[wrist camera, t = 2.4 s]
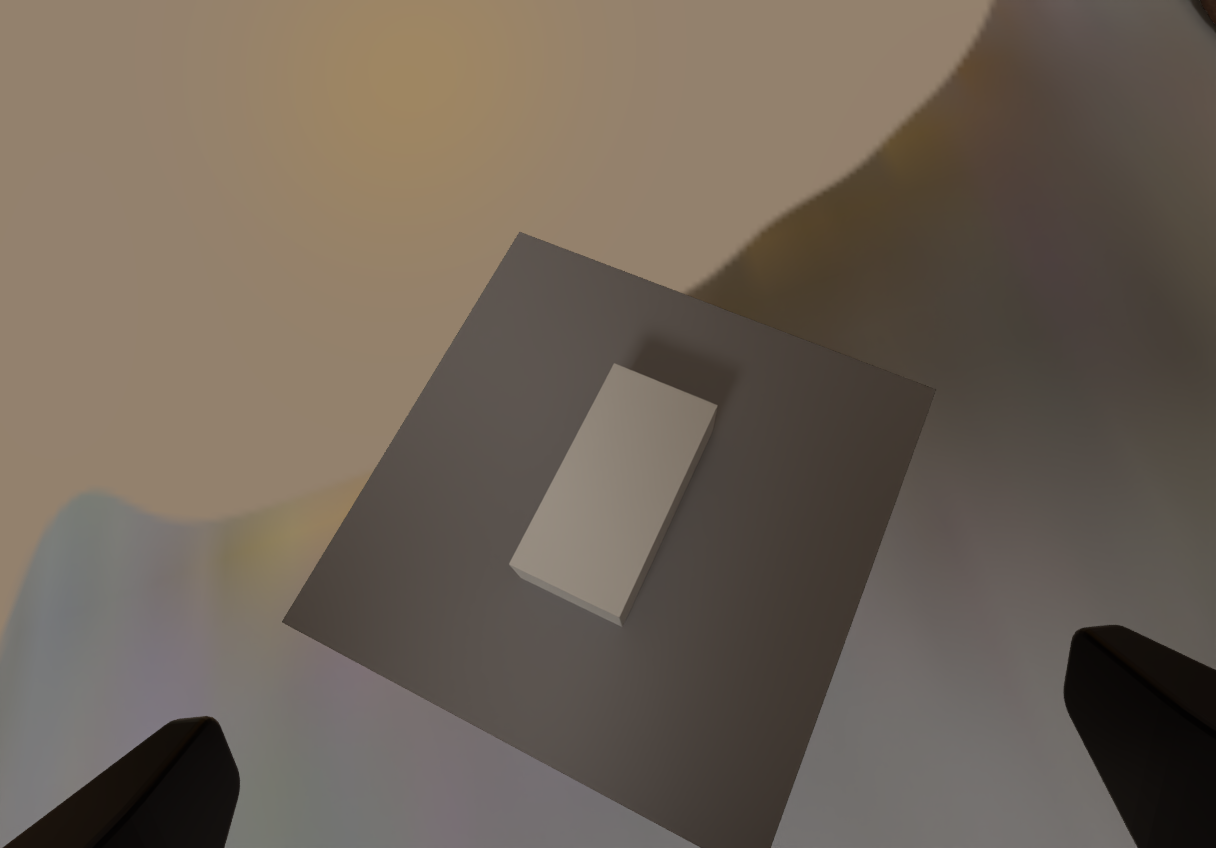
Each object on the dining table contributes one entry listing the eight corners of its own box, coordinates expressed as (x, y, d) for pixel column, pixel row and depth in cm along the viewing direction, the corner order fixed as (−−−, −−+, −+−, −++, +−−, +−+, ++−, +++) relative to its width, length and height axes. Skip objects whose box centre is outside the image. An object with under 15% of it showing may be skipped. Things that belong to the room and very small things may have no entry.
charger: (693, 787, 16) (770, 892, 5) (505, 689, 17) (248, 611, 6) (772, 589, 18) (959, 361, 7) (594, 509, 18) (509, 195, 8)
